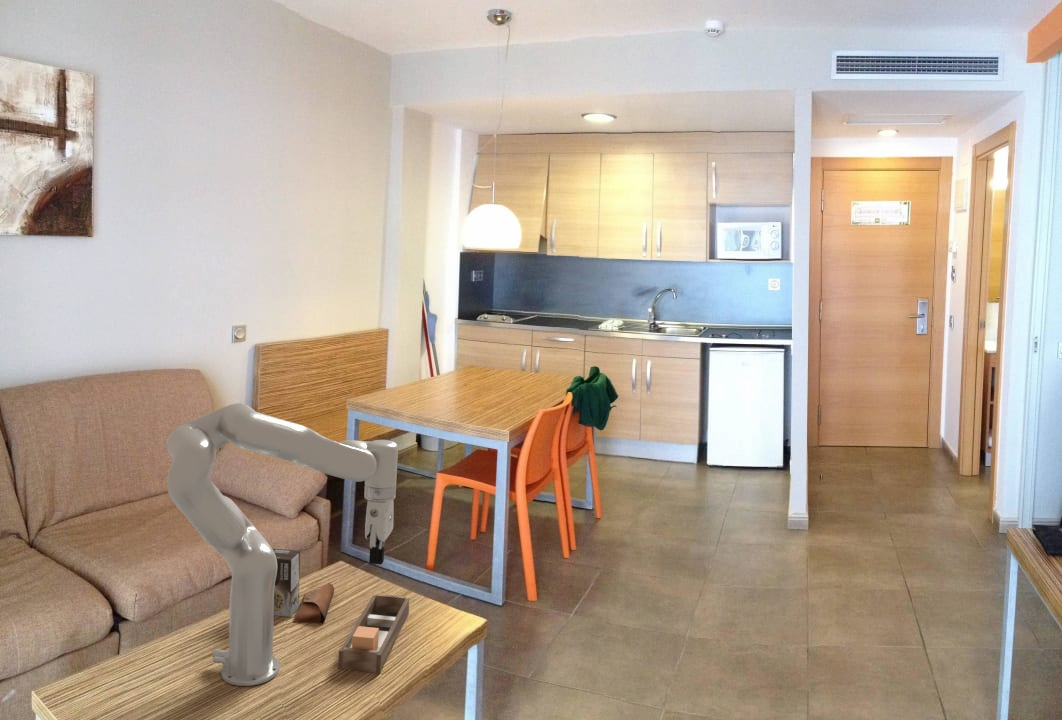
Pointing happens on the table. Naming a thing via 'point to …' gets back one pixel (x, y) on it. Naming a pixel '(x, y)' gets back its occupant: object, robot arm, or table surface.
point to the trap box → (389, 620)
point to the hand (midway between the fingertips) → (376, 562)
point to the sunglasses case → (315, 605)
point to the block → (365, 638)
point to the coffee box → (287, 582)
